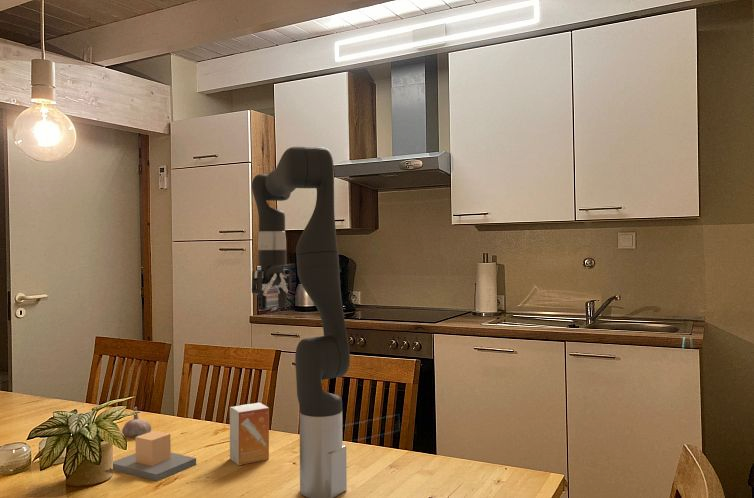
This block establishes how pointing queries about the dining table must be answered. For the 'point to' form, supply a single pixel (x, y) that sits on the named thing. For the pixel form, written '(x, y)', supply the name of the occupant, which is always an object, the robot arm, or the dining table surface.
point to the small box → (249, 433)
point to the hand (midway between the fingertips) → (272, 308)
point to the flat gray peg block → (154, 466)
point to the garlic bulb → (136, 426)
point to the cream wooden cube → (153, 448)
